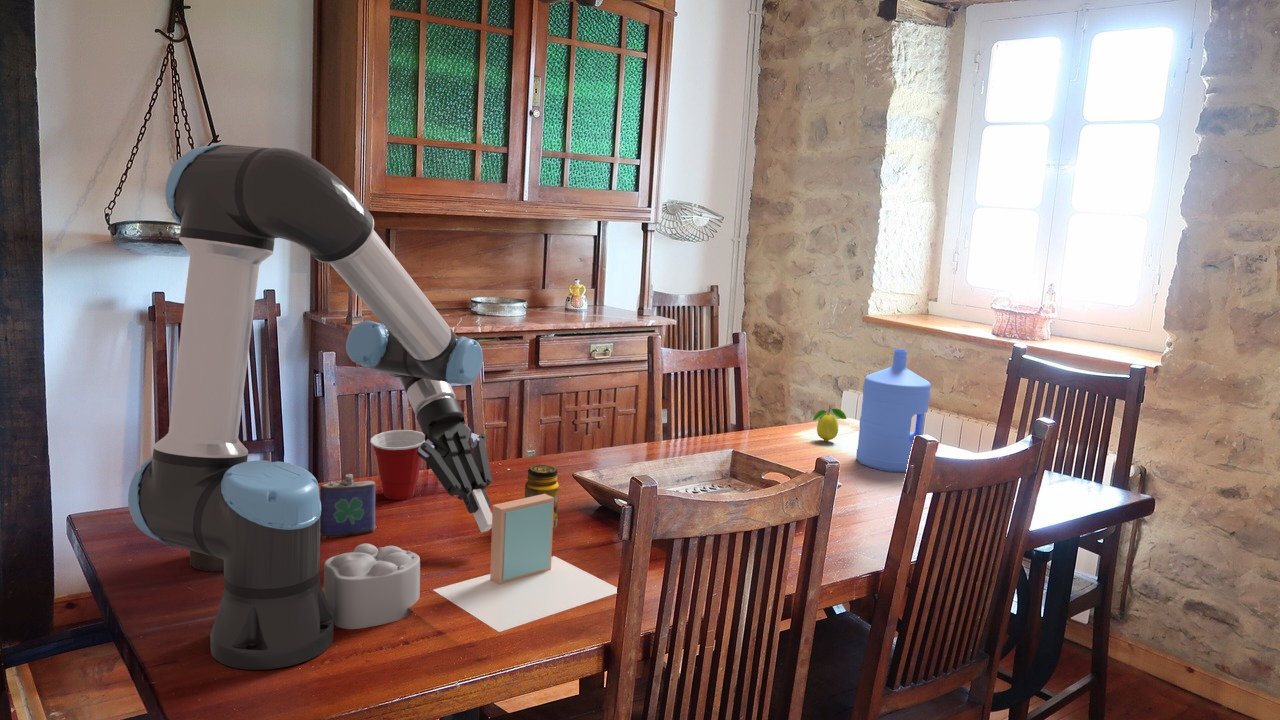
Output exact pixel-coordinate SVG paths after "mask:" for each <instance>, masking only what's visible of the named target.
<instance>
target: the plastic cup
mask: <svg viewBox="0 0 1280 720" xmlns="http://www.w3.org/2000/svg"><path fill="white" fill-rule="evenodd" d="M423 442H425V435H424V434H423V432H422V431H417V430H412V429H411V430H409V429H395V430H387V431H382V432H380V433H378V434H374V435H373V436H372V437H371V438H370V444H371V446H373V449H374V450H373V451H374V452H375V455H376V458H377V466H378V470H379V479H380V481H381V487H382V494H383V497H384V496H385V497H386V498H385V497H384V498H385V499H387V498H388V500H391V499H392V500H393V501H404V500H409V499H412V498H413V497H414V495H415V493H416V489H417V482H418V480H419V476H420V475H419V474H420V470H421V469H420V467H421V463H422V460H423V459H422V458H421V457H420V456H419V455H418V454H417V450H418V449H419V447H420V446H421V445H422V443H423Z"/></svg>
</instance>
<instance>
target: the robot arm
mask: <svg viewBox="0 0 1280 720" xmlns="http://www.w3.org/2000/svg"><path fill="white" fill-rule="evenodd" d="M164 193H165V194H164V195H165V201H166V202H165V203H166V205H167V209H169V210H170V211H171V217H172V218H173V219H174V220H175V221H176V223H178V224H179V225H180V230H179V238H178V240H179V242H180V243H181V244H182V246H183V247H184V248H185V250H187V251H188V254H189V263H188V271H187V279H186V280H187V281H186V287H185V294H184V304H183V310H182V319H181V328H180V336H179V344H178V352H177V359H176V360H177V361H176V368H175V376H174V384H173V394H172V400H171V410H170V418H169V426H168V433H167V434H165V436H163V437H162V438H161V439H159V440H158V441H157V442H155V443H154V446H153V451H152V457H150V458H148V459H146V460H145V461H143V463H142V464H141V465H140V470H138V471H136V472H134V474H133V477H132V478H131V481H130V484H129V486H128V491H127V492H128V493H127V504H128V510H129V514H130V517H131V519H132V521H133V522H134V524H135V525H136V527H137V528H138V530H140V531H141V532H142V533H143V534H145V536H148V537H150V538H152V539H154V540H157V541H158V542H160V543H162V544H164V545H166V546H170V547H175V548H182V549H186V550H189V551H190V550H192V551H195V552H199V553H203V554H206V555H210V556H214V557H218V558H221V559H223V560H224V571H223V576H224V577H223V578H224V579H223V582H224V588H223V589H224V590H223V595H222V597H221V601H220V603H219V607H218V609H217V612H216V616H215V618H214V620H213V624H212V628H211V629H210V630H211V631H210V636H209V637H210V642H209V643H210V653H211V656H212V657H213V658H214V660H216V661H217V662H219V663H221V664H223V665H225V666H228V667H230V668H231V667H232V668H235V669H241V670H250V671H251V670H254V671H259V670H260V671H262V670H265V671H266V670H273V669H274V670H276V669H281V668H287V667H292V666H295V665H298V664H301V663H305V662H306V661H307V662H308V661H310V660H312V659H314V658H316V657H318V656H320V655H321V654H323V652H325V651H326V650H327V649H328V648H329V647H330V646H331V644H332V643H333V641H334V631H335V630H334V628H335V627H334V626H335V624H334V622H333V617H332V615H331V612H330V609H329V606H328V604H327V601H326V598H325V596H324V589H323V588H322V585H321V576H320V575H321V573H320V570H321V510H322V509H321V501H320V486H319V483H318V480H317V479H316V477H315V476H314V475H313V474H312V473H311V472H310V471H309V470H307V469H305V468H303V467H302V466H298V465H296V464H294V463H293V464H292V463H290V462H286V461H285V462H284V461H279V460H277V461H269V460H262V459H261V460H250V461H248V456H249V450H248V449H247V448H246V447H245V445H244V444H243V443H242V442H241V441H240V439H239V433H240V425H241V424H240V423H241V418H242V417H241V416H242V408H243V401H244V394H245V393H244V392H245V384H246V376H247V375H246V374H247V369H248V361H249V359H248V358H249V351H250V346H251V345H250V342H251V334H252V330H253V329H252V327H253V320H254V311H255V304H256V295H257V287H258V279H259V270H260V265H261V264H262V263H263V262H264V261H265V260H267V259H268V258H269V257H270V256H272V255H273V254H274V249H275V248H274V247H275V240H276V239H283V240H286V241H290V242H292V243H295V244H297V245H298V246H301V247H302V248H304V249H306V250H307V251H308V253H309V254H310V255H311V256H312V257H313V259H315V260H317V261H318V262H320V263H324V264H329V265H330V266H331V267H332V268H333V269H334V271H335V272H337V274H338V275H339V276H340V278H341V279H343V281H345V283H346V284H347V285H348V286H349V288H350V289H351V290H352V291H353V292H354V293H355V294H356V295H357V297H359V299H360V300H361V301H362V303H364V305H366V307H367V308H368V309H369V310H370V311H371V313H373V315H374V316H375V317H376V318H377V319H378V320H379V322H376V321H372V320H363V321H361V322H358V323H357V324H355V325H354V326H353V327H352V328H351V330H350V331H349V333H348V335H347V338H346V341H345V342H346V343H345V350H346V354H347V355H348V358H349V359H350V360H351V361H352V363H355V364H357V365H359V366H361V367H362V368H364V369H370V370H373V371H377V372H380V373H383V374H386V375H389V376H391V377H394V378H397V379H399V380H400V383H401V385H402V387H403V388H404V392H405V394H406V397H407V398H408V401H409V403H410V406H411V407H412V410H413V413H414V414H415V415H416V420H417V423H418V425H419V427H420V430H421V432H422V433H423V434H424V435H425V442H423V443H422V445H421V446H420V447H419V449H418V450H417V454H418V455H419V456H420V457H421V458H422V459H421V460H424V461H425V462H426V464H427V466H428V467H429V468H430V469H431V471H432V472H433V474H434V476H436V478H437V479H438V481H439V483H441V485H442V487H443V488H444V489H445V491H446V492H447V494H448V495H449V496H450V497H454V496H457V499H458V500H459V501H463V503H464V505H465V507H466V510H467V512H468V513H469V514H473V517H474V519H475V522H476V523H477V526H478V528H479V531H480V533H485V532H489V531H490V530H492V510H491V509H490V508H491V506H492V502H491V500H490V498H489V496H488V493H487V491H486V489H487V488H488V487H489V486H490V485H491V484H492V482H493V477H492V471H491V467H490V463H489V457H488V454H487V453H488V452H487V447H486V442H487V435H486V434H485V433H483V432H482V433H479V434H476V433H473V432H472V429H471V428H470V427H469V426H468V424H467V423H466V421H465V414H464V413H463V410H462V408H461V405H460V404H459V401H458V400H457V399H456V394H455V392H454V389H453V387H452V385H451V384H458V385H459V384H460V385H468V384H471V383H472V382H474V381H475V380H476V379H477V378H478V376H479V374H480V372H481V370H482V368H483V363H484V362H483V361H484V353H483V349H482V347H481V345H480V343H479V342H478V341H477V340H475V339H473V338H470V337H469V338H468V337H466V336H464V335H463V336H459V335H457V334H456V333H455V332H454V330H452V329H451V327H450V325H449V324H448V323H447V322H446V320H445V319H444V317H443V316H442V315H441V314H440V312H439V311H438V310H437V309H436V308H435V307H434V305H433V303H431V301H430V300H429V298H428V297H427V296H426V295H425V293H424V292H423V291H422V290H421V289H420V287H419V286H418V285H417V283H416V282H415V281H414V280H413V278H412V277H411V275H410V274H409V273H408V272H407V270H406V269H405V268H404V267H403V265H402V264H401V263H400V261H399V260H398V259H397V257H396V256H395V255H394V253H392V251H391V250H390V249H389V247H388V246H387V244H385V242H384V241H383V239H382V238H381V237H380V236H379V234H378V233H377V232H376V231H375V230H374V229H375V220H374V216H373V215H372V214H371V212H370V211H369V209H368V208H367V207H366V205H364V203H363V202H362V201H361V200H360V198H359V197H358V196H357V194H355V192H354V191H352V190H351V188H350V187H348V185H346V184H345V182H343V180H341V179H340V178H339V177H338V176H337V175H336V174H334V173H333V172H332V171H330V170H329V169H328V168H327V167H326V166H325V165H323V164H322V163H320V162H319V161H317V160H316V159H314V158H312V157H310V156H308V155H307V154H305V153H302V152H301V151H300V152H299V151H297V150H294V149H291V148H284V147H263V146H262V147H261V146H260V147H259V146H248V145H237V144H225V143H221V144H214V145H202V146H198V147H195V148H192V149H190V150H189V151H187V152H186V153H185V154H183V155H181V156H180V157H179V158H178V159H177V160H176V161H175V163H174V164H173V165H172V167H171V169H170V170H169V173H168V175H167V179H166V183H165V189H164ZM471 448H472V449H471ZM472 454H473V455H472Z"/></svg>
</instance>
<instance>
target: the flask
mask: <svg viewBox="0 0 1280 720" xmlns="http://www.w3.org/2000/svg"><path fill="white" fill-rule="evenodd" d="M354 477H355V476H354V474H353V473H347V474H345V479H343V480H342V481H335V482H333V481H332V480H331V481H330V482H328V483H324V484H322V485H320V486H319V496H320V501H321V509H322V510H321V536H322V537H321V536H320V537H321V538H326V537H329V538H343V537H349V536H360V535H366V534H370V533H374V532H375V530H376V482H375V481H373V480H364V481H354V480H353V479H354Z"/></svg>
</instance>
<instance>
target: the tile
mask: <svg viewBox="0 0 1280 720" xmlns="http://www.w3.org/2000/svg"><path fill="white" fill-rule="evenodd" d="M491 513H492V528H491V540H490V542H491V543H490V544H491V545H490V547H491V548H490V568H489V569H490V570H489V571H490V572H489V574H490V580H492V581H494V582H495V583H497V584H499V585H500V584H503V583H507V582H510V581H514V580H517V579H521V578H524V577H528V576H531V575H535V574H538V573H541V572H545V571H548V570H551V557H553V556H552V553H553V552H552V551H553V536H554V535H553V534H554V533H553V531H554V530H553V514H554V497H551V496H549V495H547V494H541V495H537V496H532V497H527V498H525V497H524V498H518V499H515V500H510V501H506V502H502V503H501V502H500V503H496V504H492V510H491Z"/></svg>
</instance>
